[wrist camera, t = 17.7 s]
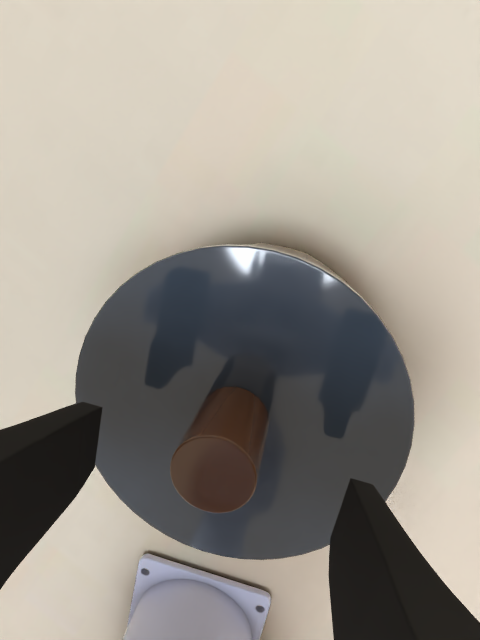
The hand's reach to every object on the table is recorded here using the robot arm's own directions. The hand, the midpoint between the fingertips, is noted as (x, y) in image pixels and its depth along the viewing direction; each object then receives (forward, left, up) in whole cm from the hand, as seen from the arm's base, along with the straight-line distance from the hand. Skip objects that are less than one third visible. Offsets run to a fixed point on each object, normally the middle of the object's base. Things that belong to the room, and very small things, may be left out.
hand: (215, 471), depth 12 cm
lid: (0, 0, -3) cm, 3 cm away
